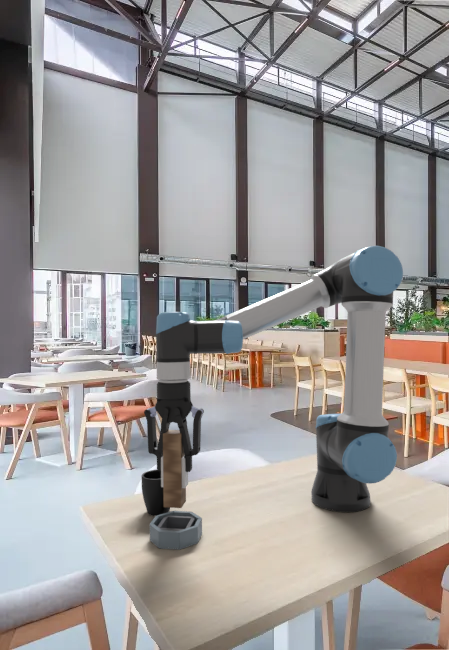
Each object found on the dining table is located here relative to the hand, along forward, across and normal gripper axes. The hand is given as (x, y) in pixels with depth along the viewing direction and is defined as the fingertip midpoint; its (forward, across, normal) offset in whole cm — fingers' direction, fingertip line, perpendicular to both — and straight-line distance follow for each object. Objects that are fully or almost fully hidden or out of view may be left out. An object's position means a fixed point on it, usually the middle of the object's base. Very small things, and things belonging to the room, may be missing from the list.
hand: (174, 485), depth 95 cm
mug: (+12, +7, -12) cm, 18 cm away
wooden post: (+4, 0, 0) cm, 4 cm away
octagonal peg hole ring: (+11, 0, 0) cm, 11 cm away
